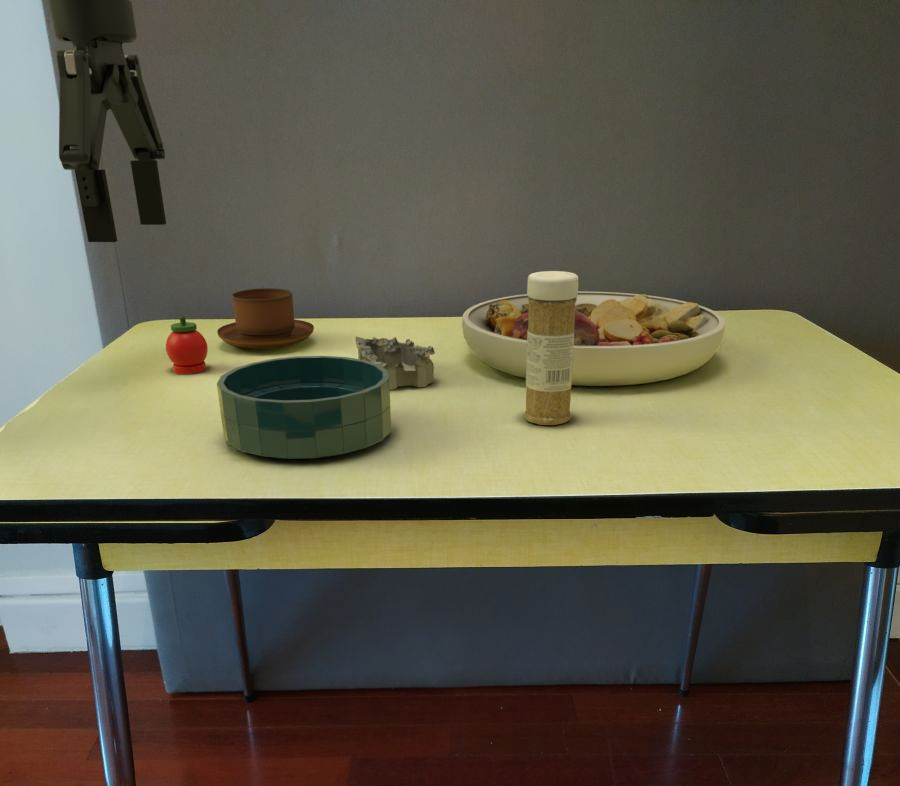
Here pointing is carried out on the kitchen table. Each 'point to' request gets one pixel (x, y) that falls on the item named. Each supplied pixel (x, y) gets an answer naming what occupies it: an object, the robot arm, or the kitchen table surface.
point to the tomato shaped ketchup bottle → (186, 348)
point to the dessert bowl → (305, 406)
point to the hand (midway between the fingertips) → (129, 232)
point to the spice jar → (550, 346)
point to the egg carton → (399, 360)
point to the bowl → (603, 337)
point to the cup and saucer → (264, 320)
